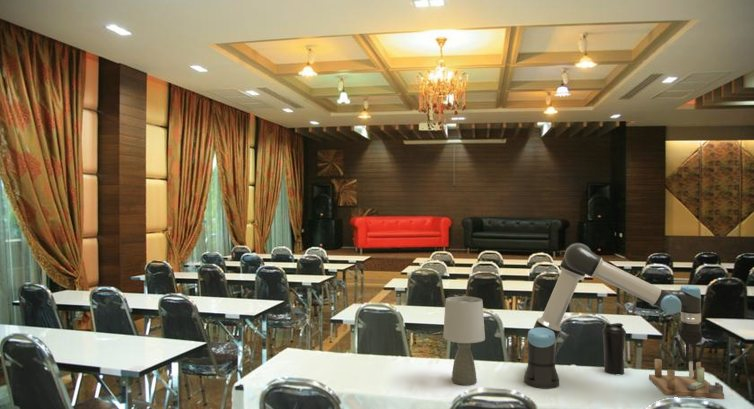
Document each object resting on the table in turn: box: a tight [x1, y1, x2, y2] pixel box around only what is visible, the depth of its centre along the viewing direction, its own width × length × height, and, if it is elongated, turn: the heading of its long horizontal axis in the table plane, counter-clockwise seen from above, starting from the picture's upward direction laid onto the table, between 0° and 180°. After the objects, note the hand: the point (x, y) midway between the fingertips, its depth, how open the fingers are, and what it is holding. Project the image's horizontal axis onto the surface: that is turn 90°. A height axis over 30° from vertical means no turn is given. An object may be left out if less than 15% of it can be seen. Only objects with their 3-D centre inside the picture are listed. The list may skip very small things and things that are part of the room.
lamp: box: [442, 296, 486, 386], centre depth 240 cm, size 19×19×37 cm
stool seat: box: [648, 358, 725, 400], centre depth 230 cm, size 22×22×10 cm
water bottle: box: [601, 322, 627, 376], centre depth 254 cm, size 10×10×23 cm
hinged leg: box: [687, 366, 705, 391], centre depth 225 cm, size 11×3×7 cm, turn 125°
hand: (691, 376), depth 229 cm, fingers closed
